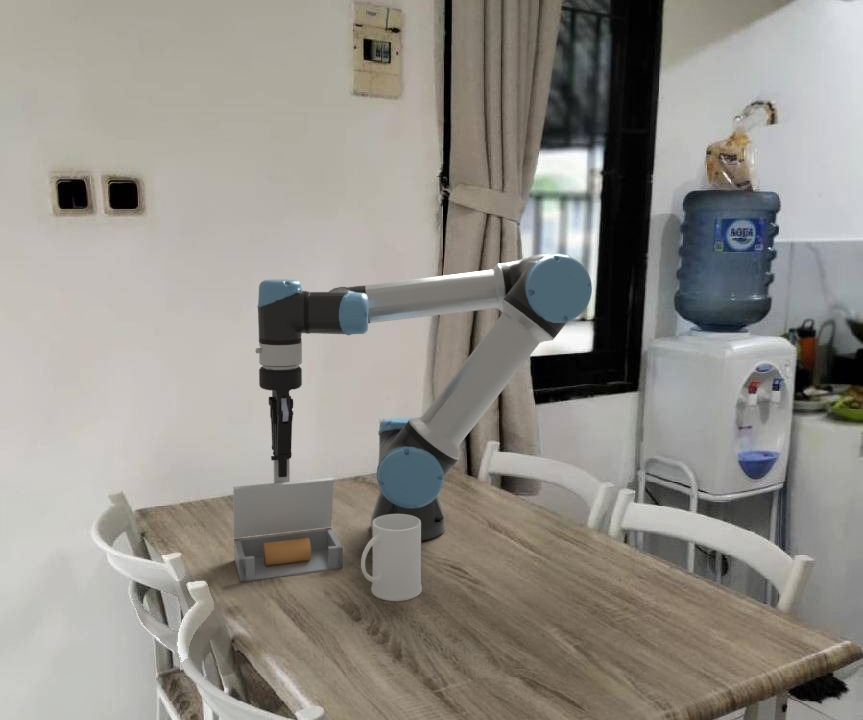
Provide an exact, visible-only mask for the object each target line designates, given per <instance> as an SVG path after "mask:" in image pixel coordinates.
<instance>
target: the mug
mask: <svg viewBox="0 0 863 720" xmlns="http://www.w3.org/2000/svg"><path fill="white" fill-rule="evenodd" d="M372 530H373V532H372V538H370V540H369V541H368V542H367V544H366V546H365V547H364V549H363V552H362V554H361V559H360V569H361V573H362V575H363V576H364V578H365V579H366V580H367V581H369V582H371V583H372V584H371V588H370V592H371V594H372V595H373V596H374V597H376V598H377V599H380V600H384V601H386V602H387V601H388V602H403V601H409V600H413V599H416V598H417V597H418V596H420V594H421V593H422V590H423V586H422V579H421V578H422V576H421V575H422V574H421V572H422V569H421V568H422V565H421V564H422V563H421V562H422V541H421V521H420V519H419V518H417V517H415V516H412V515H407V514H388V515H383V516H380V517H377V518H375V519H374V520H373V524H372ZM371 548H372V576H371V575H370V574H369V573H368V572H367V569H366V559H367V555H368V553H369V551H370V549H371Z"/></svg>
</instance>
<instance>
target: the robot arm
mask: <svg viewBox="0 0 863 720" xmlns="http://www.w3.org/2000/svg"><path fill="white" fill-rule="evenodd" d="M592 289H593V287H592V280H591V277H590V274H589V272H588V270H587V268H585V266H584V265H583V264H582V263H581V262H580V261H578V259H576V258H573V257H572V256H570V255H568V254H566V253H561V252H555V253H553V252H552V253H537V254H535V255H531V256H529V257H525V258H521V259H518V260H513V261H507V262H500V263H499V262H498V263H496V264H495V266H494V267H493V268H492V269H486V270H479V271H470V272H469V271H468V272H461V273H454V274H445V275H438V276H428V277H427V276H426V277H421V278H412V279H403V280H396V281H389V282H380V283H372V284H365V285H356V286H354V285H353V286H338V287H334V288H332V289H329V291H307V290H303V288H302V284H301V281H299V280H297V279H281V278H280V279H279V278H277V279H265V280H263V281H261V282H260V283H259V285H258V303H257V319H258V322H257V323H258V345H259V347H258V348H255V353H256V354H258V355H259V356H258V357H259V361H258V362H259V365H261V367H260V368H259V369H258V376H259V377H258V378H259V379H258V382H259V383H258V385H259V388H261V389H262V390H265V391H272V392H271V393H272V394H271V395H272V396H268V405H269V409H270V410H269V412H270V413H269V417H270V423H271V424H270V425H271V427H270V428H271V450H272V454H273V455H271V456H270V458H271V461H273V483H281V482H291V481H290V480H291V479H290V478H291V477H290V474H291V473H290V472H291V471H290V459H292V456H293V455H292V437H293V433H292V432H293V419H294V411H293V408H294V399H293V398H292V397H291V396H292V395H290V391H291V390H297V389H299V388H301V387H302V384H303V379H302V377H303V373H302V372H303V371H302V370H303V369H302V367H301V366H300V365H301V364H302V363H303V342H302V334H307V335H308V334H323V335H324V334H325V335H346V336H351V335H364V334H366V333H367V331H368V330H369V324H372V323H373V324H375V323H383V322H390V321H399V320H409V319H415V318H422V317H432V316H442V315H450V314H457V313H465V312H475V311H483V310H492V309H497V310H499V311H500V312H502V313H501V315H500V316H499V318H498V319H497V320H496V321H495V323H494V324H493V325H492V327H491V328H490V329H489V330H488V331H487V332H486V333H485V335H484V336H483V338H482V339H481V340H480V342H479V343H478V345H477V346H476V347H475V348H474V349H473V351H472V352H471V354H470V355H469V356H468V357H467V358H466V360H465V361H464V363H462V365H461V366H460V367H459V368H458V370H457V371H456V372H455V374H454V375H453V376H452V378H451V379H450V380H449V382H448V383H447V384H446V385H445V386H444V388H443V389H442V391H441V392H440V393H439V394H438V396H437V397H435V400H434V401H433V402H432V403H431V405H429V407H428V408H427V409H426V411H425V412H424V414H422V416H419V417H418V416H417V417H392V418H391V417H389V418H385V419H383V420H381V421H380V423H379V428H378V429H379V430H378V432H377V433H378V436H379V438H378V439H379V443H378V445H379V446H378V447H379V449H378V463H377V468H376V480H377V484H378V486H379V490H378V492H379V493H378V496H377V499H376V502H375V504H374V508H373V511H372V514H371V517H370V518H371V519H370V530H371V532H372V533H373V530H372V524H373V520H374V519H375V518H377V517H380V516H383V515H388V514H407V515H412V516H415V517H417V518H419V519H420V521H421V542H422V541H427V540H428V541H429V540H431V539H432V540H433V539H434V538H437V537H439V536H441V535H442V534H443V533H444V532H445V530H446V526H445V525H446V519H445V515H444V511H443V508H442V505H441V501H440V498H439V494H440V493H441V490H442V488H443V485H444V483H445V482H444V481H445V477H446V476H447V475H448V474H449V473H450V472H451V470H452V469H453V467H454V466H455V464H456V463H457V462H458V461H459V460H460V457H461V455H460V445H461V443H463V441H464V440H465V438H466V437H467V435H468V434H469V433H470V432H471V431H472V430H473V428H474V427H475V426H476V424H478V422H480V419H481V418H483V415H484V414H485V413H486V412H487V411H488V410H489V408H490V407H491V405H492V404H493V403H494V402H495V400H497V398H498V396H500V394H501V393H502V392H503V390H505V388H506V387H507V385H508V384H509V383H510V382H511V380H512V379H513V378H514V377H515V375H516V374H517V373H518V372H519V370H520V369H521V367H523V365H524V364H525V362H527V360H528V358H530V356H531V355H532V354H533V352H535V350H536V349H537V347H538V346H539V345H540V344H541V343H544V342H549V341H550V342H551V341H554V339H556V337H557V335H559V333H560V332H561V331H562V330H563V328H564V327H565V326H566V324H567V323H569V322H571V321H574V320H575V319H577V318H578V317H579V316H580V315H582V314H583V313H584V311H585V310H586V309H587V307H588V306H589V303H590V301H591V297H592V294H593V293H592V292H593V290H592Z"/></svg>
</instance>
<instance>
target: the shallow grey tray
mask: <svg viewBox="0 0 863 720" xmlns="http://www.w3.org/2000/svg"><path fill="white" fill-rule="evenodd" d="M302 538H309V540H310V545H311V560H307V561H299V562H291V563H284V564H276V565H268V566H265V563H264V554H263V544H264V543H268V542H277V541H285V540H294V539H302ZM233 546H234V548H233V550H234V551H233V552H234V553H233V554H234V562H235V566H236V570H237V571H236V572H237V576H238V578H239V582H240V583H243V582H244V583H245V582H251V581H259V580H265V579H273V578H281V577H289V576H296V575H302V574H303V575H305V574H311V573H317V572H324V571H325V572H326V571H333V570H335V571H336V570H339V569H340V570H341V569H344V547H343V545H342V543H341V541H340V540H339V538H338V536H337V535H336V534H335V531H334V530H333V529H332V527H325V528H317V529H308V530H299V531H291V532H282V533H273V534H264V535H256V536H247V537H238V538H234V539H233Z"/></svg>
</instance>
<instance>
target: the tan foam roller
mask: <svg viewBox="0 0 863 720" xmlns="http://www.w3.org/2000/svg"><path fill="white" fill-rule="evenodd" d="M263 554H264V563H265V566H268V565H276V564H284V563H291V562H299V561H307V560H311V545H310V540H309V538H302V539H294V540H285V541H277V542H268V543H264V544H263Z"/></svg>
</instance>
